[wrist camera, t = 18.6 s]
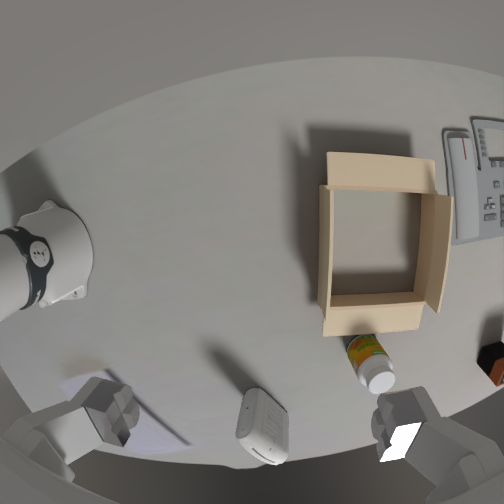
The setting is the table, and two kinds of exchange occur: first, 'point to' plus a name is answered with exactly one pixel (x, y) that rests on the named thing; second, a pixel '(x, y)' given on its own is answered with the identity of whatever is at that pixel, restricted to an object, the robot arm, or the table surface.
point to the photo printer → (263, 427)
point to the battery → (493, 362)
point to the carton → (429, 252)
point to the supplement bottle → (371, 363)
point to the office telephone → (474, 185)
